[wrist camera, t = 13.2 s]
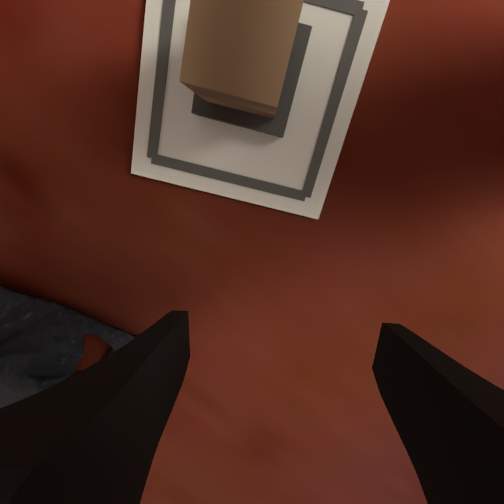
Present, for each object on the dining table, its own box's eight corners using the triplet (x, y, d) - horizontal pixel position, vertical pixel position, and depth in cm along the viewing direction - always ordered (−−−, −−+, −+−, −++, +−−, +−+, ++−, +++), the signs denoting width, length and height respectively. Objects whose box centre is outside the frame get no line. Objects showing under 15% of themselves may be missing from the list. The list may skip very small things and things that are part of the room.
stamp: (308, 37, 15) (336, -37, 9) (281, 137, 17) (290, 132, 11) (214, 11, 15) (178, -83, 9) (197, 115, 17) (157, 97, 11)
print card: (390, -9, 15) (395, -14, 14) (317, 218, 19) (318, 220, 18) (156, -74, 14) (152, -82, 14) (133, 172, 18) (130, 173, 18)
